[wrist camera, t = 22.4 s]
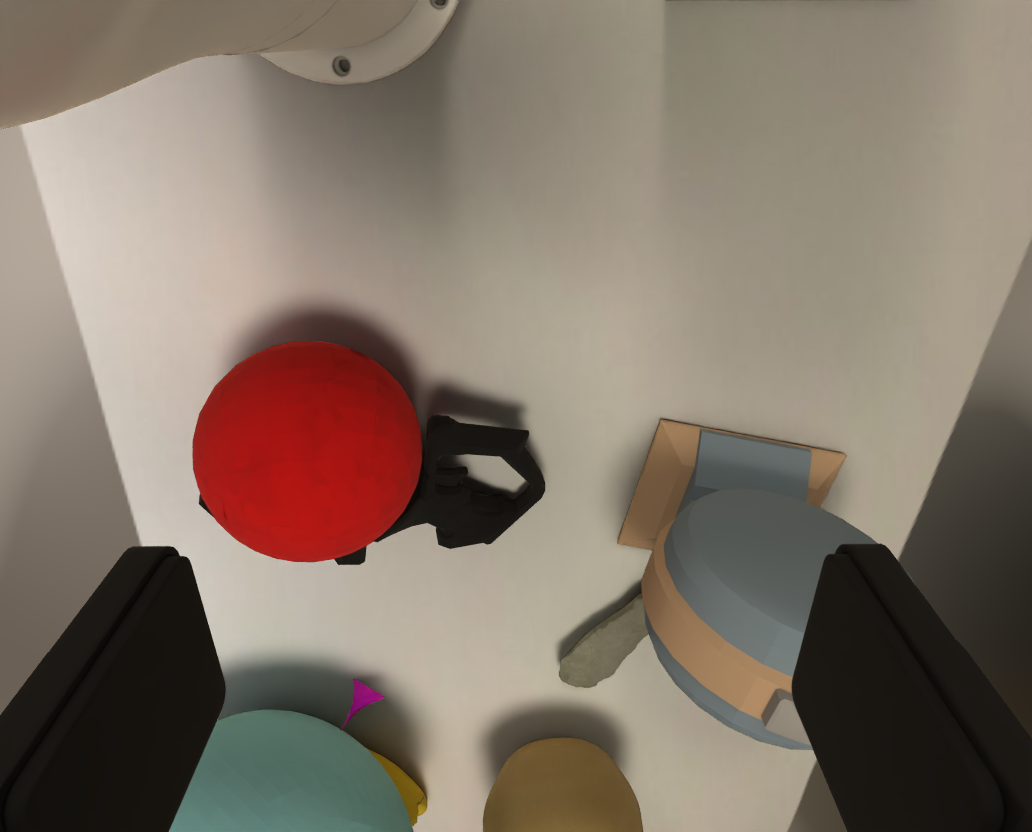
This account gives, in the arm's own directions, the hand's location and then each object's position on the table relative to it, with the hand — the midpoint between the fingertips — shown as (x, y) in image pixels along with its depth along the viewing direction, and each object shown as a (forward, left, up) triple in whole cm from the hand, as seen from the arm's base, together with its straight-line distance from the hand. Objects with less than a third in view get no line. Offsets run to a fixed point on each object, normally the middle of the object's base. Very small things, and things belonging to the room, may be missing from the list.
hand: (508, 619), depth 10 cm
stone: (+28, +6, -29) cm, 41 cm away
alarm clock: (+19, +14, -30) cm, 39 cm away
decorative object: (+14, -7, -31) cm, 35 cm away
